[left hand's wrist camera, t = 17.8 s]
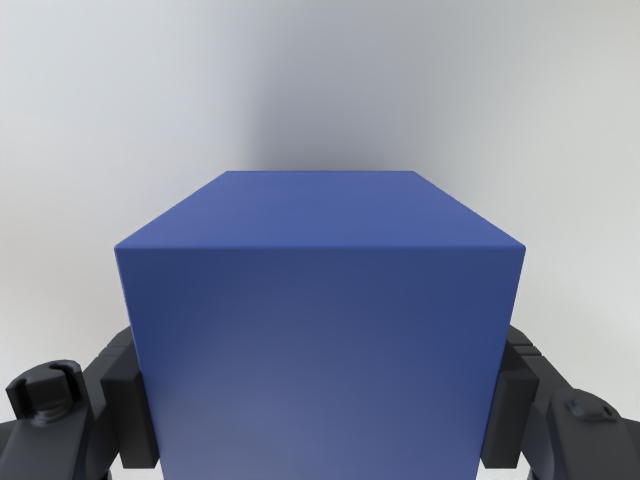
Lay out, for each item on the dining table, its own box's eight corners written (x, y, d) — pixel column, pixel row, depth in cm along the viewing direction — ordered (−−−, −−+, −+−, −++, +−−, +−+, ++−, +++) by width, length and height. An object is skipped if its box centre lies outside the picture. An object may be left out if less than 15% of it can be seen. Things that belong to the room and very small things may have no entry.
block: (398, 340, 18) (464, 535, 10) (241, 339, 18) (174, 535, 10) (414, 170, 15) (528, 246, 7) (225, 170, 15) (111, 246, 7)
